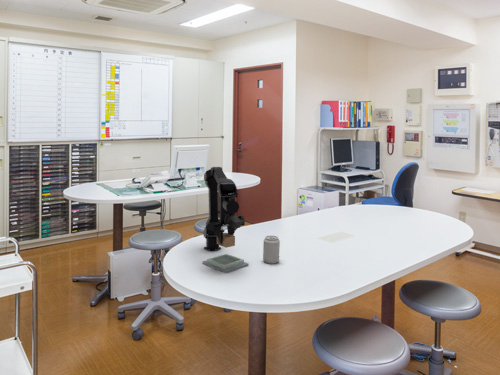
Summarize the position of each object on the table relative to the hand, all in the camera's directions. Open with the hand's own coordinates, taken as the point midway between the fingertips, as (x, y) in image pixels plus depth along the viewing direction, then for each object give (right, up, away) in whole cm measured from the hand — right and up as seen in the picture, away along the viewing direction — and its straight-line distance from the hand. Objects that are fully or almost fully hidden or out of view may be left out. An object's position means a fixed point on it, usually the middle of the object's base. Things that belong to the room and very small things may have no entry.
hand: (225, 242), depth 188 cm
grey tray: (0, -10, +2) cm, 11 cm away
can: (+21, -10, +7) cm, 24 cm away
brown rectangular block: (0, -1, 0) cm, 1 cm away
